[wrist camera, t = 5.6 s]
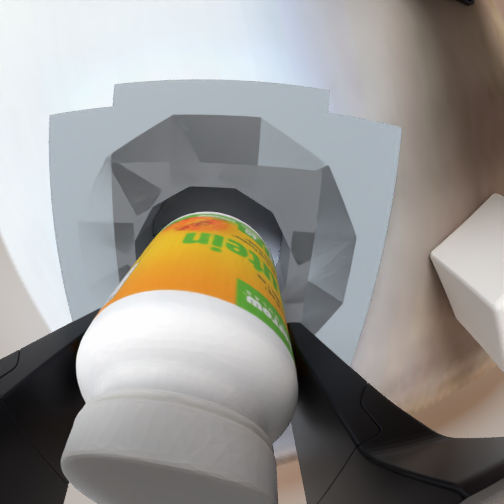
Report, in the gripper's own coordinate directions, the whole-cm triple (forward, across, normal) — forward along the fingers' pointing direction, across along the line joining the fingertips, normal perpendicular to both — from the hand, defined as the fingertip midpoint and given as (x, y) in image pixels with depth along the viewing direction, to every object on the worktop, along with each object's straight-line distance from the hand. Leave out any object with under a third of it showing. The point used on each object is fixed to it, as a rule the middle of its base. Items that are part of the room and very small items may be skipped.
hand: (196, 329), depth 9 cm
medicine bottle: (+8, -18, 0) cm, 20 cm away
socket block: (+8, 0, 0) cm, 8 cm away
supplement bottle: (+4, 0, 0) cm, 4 cm away
